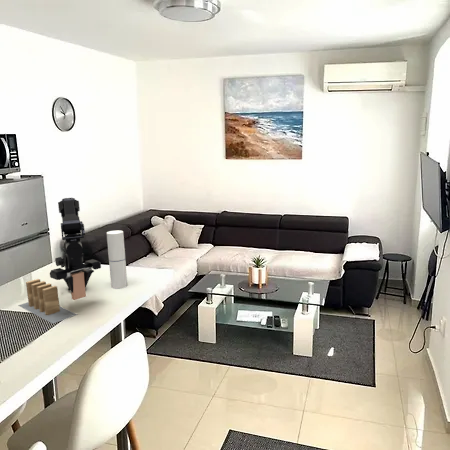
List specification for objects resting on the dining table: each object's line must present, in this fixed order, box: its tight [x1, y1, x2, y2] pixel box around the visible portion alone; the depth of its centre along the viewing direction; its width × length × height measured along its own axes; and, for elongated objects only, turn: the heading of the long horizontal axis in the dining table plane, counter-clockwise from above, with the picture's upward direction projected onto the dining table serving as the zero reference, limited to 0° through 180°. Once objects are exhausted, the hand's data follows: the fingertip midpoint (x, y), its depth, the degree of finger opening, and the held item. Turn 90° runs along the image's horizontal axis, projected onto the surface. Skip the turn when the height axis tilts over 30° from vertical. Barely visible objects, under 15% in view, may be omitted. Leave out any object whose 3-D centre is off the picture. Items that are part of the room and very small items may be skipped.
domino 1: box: [25, 278, 42, 307], centre depth 176 cm, size 2×5×10 cm, turn 139°
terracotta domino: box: [70, 271, 87, 301], centre depth 169 cm, size 2×5×10 cm, turn 139°
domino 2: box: [31, 280, 47, 310], centre depth 173 cm, size 2×5×10 cm, turn 139°
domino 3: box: [37, 283, 52, 312], centre depth 170 cm, size 2×5×10 cm, turn 139°
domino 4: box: [42, 285, 61, 315], centre depth 167 cm, size 2×5×10 cm, turn 139°
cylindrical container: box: [106, 229, 128, 290], centre depth 195 cm, size 7×7×25 cm
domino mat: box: [18, 301, 78, 324], centre depth 171 cm, size 28×10×1 cm, turn 49°
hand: (78, 290), depth 170 cm, fingers closed on terracotta domino, 5 cm apart
